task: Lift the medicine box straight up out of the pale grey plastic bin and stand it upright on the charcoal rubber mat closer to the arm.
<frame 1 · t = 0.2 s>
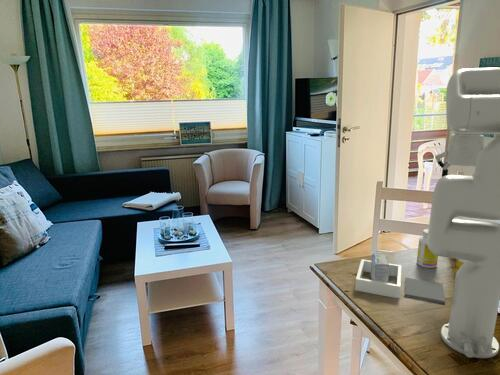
hand: (460, 181, 123), 31 cm above the table, tool pointing down, fingers open, 9 cm apart
supplement bottle 2: (463, 278, 122), on the table
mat: (423, 290, 115), on the table
bin: (378, 282, 120), on the table
supplement bottle: (426, 265, 132), on the table
medicine box: (378, 283, 120), resting in bin
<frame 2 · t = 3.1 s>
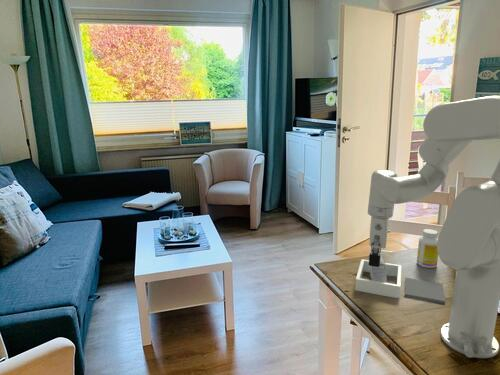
hand: (374, 258, 119), 8 cm above the table, tool pointing down, fingers open, 9 cm apart
medicine box: (378, 283, 120), resting in bin, touching gripper
everything else where it was.
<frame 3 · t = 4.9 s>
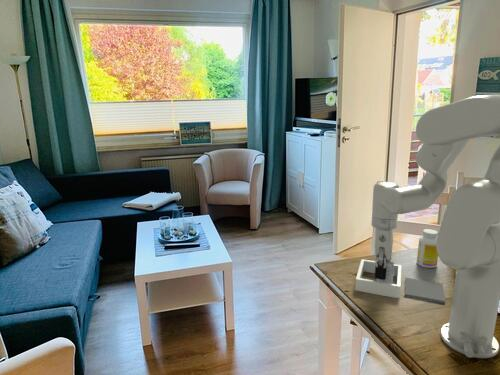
hand: (381, 272, 118), 4 cm above the table, tool pointing down, fingers closed on medicine box, 8 cm apart
medicine box: (383, 282, 118), point 1 cm above the table, touching gripper
everything else where it was.
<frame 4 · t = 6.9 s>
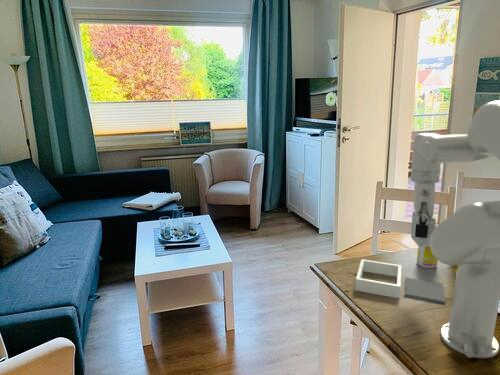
hand: (419, 231, 110), 20 cm above the table, tool pointing down, fingers closed on medicine box, 8 cm apart
medicine box: (421, 243, 111), point 16 cm above the table, touching gripper
everything else where it was.
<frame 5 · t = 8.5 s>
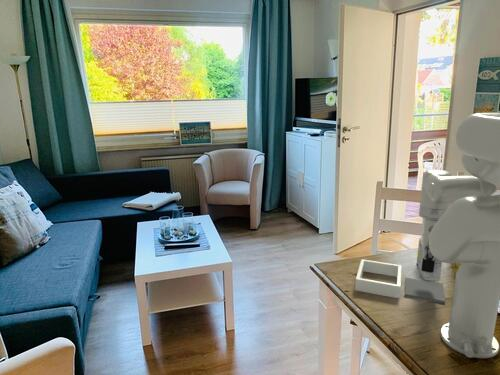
hand: (426, 264, 112), 9 cm above the table, tool pointing down, fingers closed on medicine box, 8 cm apart
medicine box: (428, 275, 113), point 5 cm above the table, touching gripper
everything else where it was.
when the fingers open (5 cm above the table, at t = 9.8 s): medicine box stays where it is, resting on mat.
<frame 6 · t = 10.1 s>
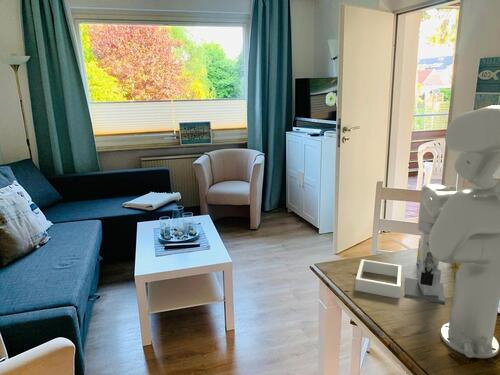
hand: (425, 277, 113), 5 cm above the table, tool pointing down, fingers open, 9 cm apart
medicine box: (427, 289, 114), point 1 cm above the table, touching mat
everything else where it was.
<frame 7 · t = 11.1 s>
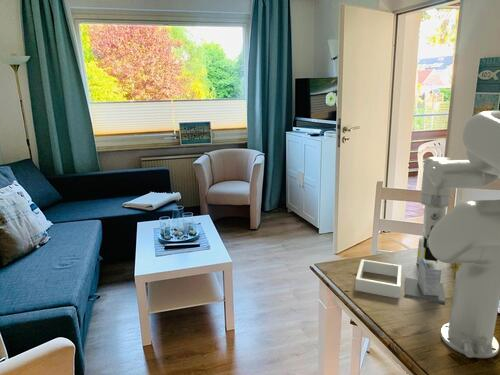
hand: (429, 253, 110), 13 cm above the table, tool pointing down, fingers open, 9 cm apart
nothing on the table moved.
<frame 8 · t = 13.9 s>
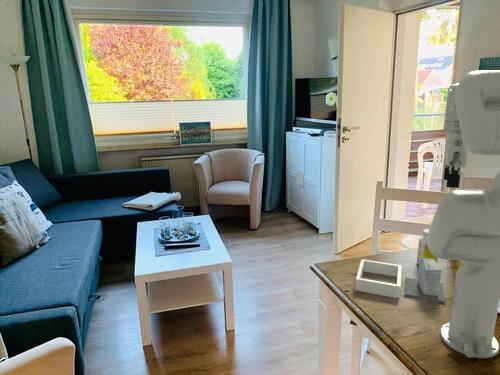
hand: (450, 183, 112), 33 cm above the table, tool pointing down, fingers open, 9 cm apart
nothing on the table moved.
at the end: medicine box inside the target area on the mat (1.0 cm from its centre), point 0.6 cm above the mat's base; medicine box tilted 0°; medicine box touching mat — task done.
